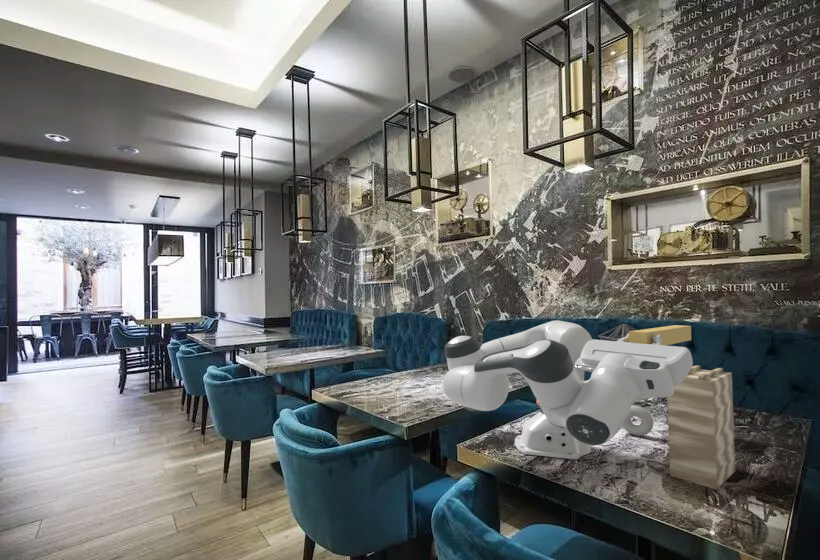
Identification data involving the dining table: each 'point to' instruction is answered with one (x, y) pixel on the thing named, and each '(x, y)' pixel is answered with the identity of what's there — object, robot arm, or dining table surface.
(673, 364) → the robot arm
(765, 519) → the dining table surface
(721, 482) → the plinth
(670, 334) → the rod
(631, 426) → the donut
